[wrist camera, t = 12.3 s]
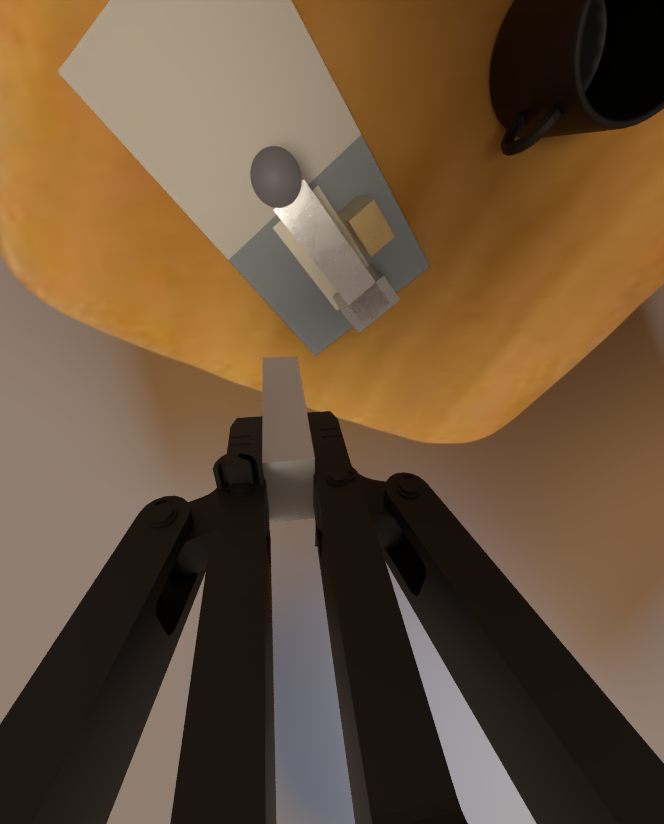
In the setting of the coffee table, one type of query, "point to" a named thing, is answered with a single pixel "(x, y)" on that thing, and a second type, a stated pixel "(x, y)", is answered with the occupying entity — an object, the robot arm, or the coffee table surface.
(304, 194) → the bar
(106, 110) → the door board
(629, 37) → the mug
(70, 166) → the coffee table surface
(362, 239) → the block
